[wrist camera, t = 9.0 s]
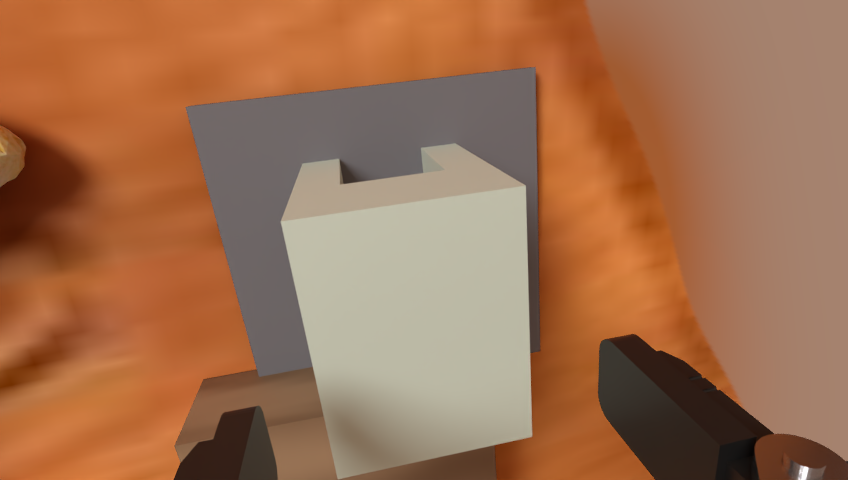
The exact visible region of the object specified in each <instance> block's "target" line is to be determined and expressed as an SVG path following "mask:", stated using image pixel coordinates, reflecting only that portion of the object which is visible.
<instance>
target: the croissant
mask: <svg viewBox="0 0 848 480" xmlns="http://www.w3.org/2000/svg"><path fill="white" fill-rule="evenodd" d="M25 152H26V146H25V144H24V143H23V141H22V139H20V138H19V137H18V136H16V135H15V134H14V133H12V132H11V131H10V130H8V129H7V128H5V127H3V126H1V125H0V187H1V186H2V185H4V184H5V183H6V182H8V181H10V180H13V179H15V178H16V177H17V176H18V174H19V173H20V172H21V170H22V169H23V168H24V166H25V163H24V156H25Z"/></svg>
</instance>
